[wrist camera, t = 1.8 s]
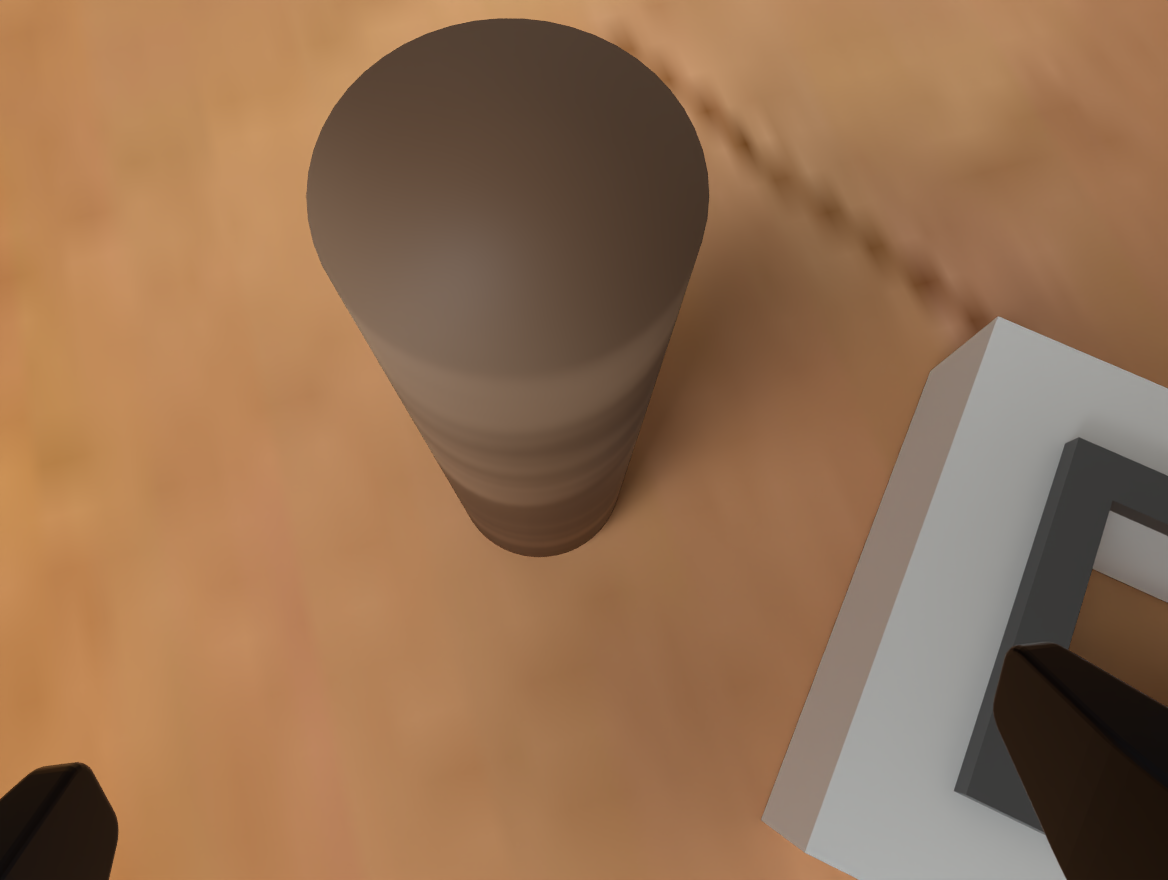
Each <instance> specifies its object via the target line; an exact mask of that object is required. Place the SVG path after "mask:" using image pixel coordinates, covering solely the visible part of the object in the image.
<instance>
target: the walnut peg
mask: <svg viewBox="0 0 1168 880" xmlns="http://www.w3.org/2000/svg"><path fill="white" fill-rule="evenodd" d="M306 197H307V212H308V222H309V226H310V230H311V235H312V239H313V243H314V246H315V249H316V251H317V254H318V256H319V259H320V261H321V264H322V266H323V268H324V270H325V271H326V273H327V275H328V277H329V278H330V280H331V282H332V284H333V285H334V287H335V289H336V291H337V292H338V294H339V296H340V297H341V299H342V301H343V302H344V304H345V306H346V308H347V309H348V311H349V313H350V314H351V316H352V318H353V319H354V321H355V323H356V325H357V326H358V328H359V330H360V331H361V333H362V335H363V336H364V338H365V340H366V341H367V343H368V345H369V347H370V348H371V350H372V352H373V353H374V355H375V357H376V358H377V360H378V362H379V364H380V365H381V367H382V369H383V370H384V372H385V374H386V375H387V377H388V379H389V381H390V382H391V384H392V386H393V387H394V389H395V391H396V392H397V394H398V396H399V398H400V399H401V401H402V403H403V404H404V406H405V408H406V409H407V411H408V413H409V415H410V416H411V418H412V420H413V421H414V423H415V425H416V426H417V428H418V430H419V432H420V433H421V435H422V437H423V438H424V440H425V442H426V443H427V445H428V447H429V449H430V450H431V452H432V454H433V455H434V457H435V459H436V460H437V462H438V464H439V465H440V467H441V469H442V471H443V472H444V474H445V476H446V477H447V479H448V481H449V482H450V484H451V486H452V488H453V489H454V491H455V493H456V494H457V496H458V498H459V499H460V501H461V503H462V505H463V506H464V508H465V510H466V511H467V513H468V515H469V516H470V518H471V520H472V522H473V523H474V524H475V526H476V527H477V528H478V529H479V531H480V532H481V533H482V534H483V535H484V536H485V537H486V538H488V539H489V540H490V541H492V542H493V543H494V544H496V545H498V546H500V547H501V548H503V549H505V550H508V551H510V552H513V553H516V554H520V555H524V556H531V557H548V556H555V555H559V554H562V553H566V552H569V551H571V550H573V549H576V548H577V547H579V546H581V545H583V544H584V543H586V542H587V541H588V540H590V539H591V538H592V537H593V536H595V534H596V533H597V532H598V531H599V530H600V529H601V528H602V527H603V526H604V524H605V523H606V521H607V520H608V518H609V516H610V515H611V513H612V511H613V509H614V506H615V503H616V501H617V498H618V495H619V492H620V489H621V486H622V482H623V479H624V476H625V473H626V470H627V467H628V464H629V461H630V458H631V455H632V452H633V449H634V446H635V443H636V440H637V437H638V434H639V431H640V428H641V425H642V422H643V419H644V416H645V413H646V410H647V407H648V404H649V401H650V398H651V395H652V391H653V388H654V385H655V382H656V379H657V376H658V373H659V370H660V367H661V364H662V361H663V358H664V355H665V352H666V349H667V346H668V343H669V340H670V337H671V334H672V331H673V328H674V325H675V322H676V319H677V316H678V313H679V310H680V307H681V304H682V301H683V297H684V294H685V291H686V288H687V285H688V282H689V279H690V276H691V273H692V270H693V267H694V264H695V261H696V258H697V255H698V252H699V249H700V246H701V243H702V239H703V235H704V231H705V226H706V222H707V216H708V204H709V186H708V172H707V167H706V163H705V158H704V153H703V149H702V147H701V144H700V141H699V139H698V136H697V133H696V131H695V128H694V126H693V124H692V123H691V121H690V119H689V117H688V115H687V113H686V112H685V110H684V108H683V107H682V105H681V104H680V103H679V101H678V100H677V98H676V97H675V96H674V94H673V93H672V92H671V90H670V89H669V88H668V87H667V86H666V85H665V84H664V83H663V82H662V81H661V80H660V79H659V78H658V76H657V75H656V74H655V73H654V72H652V71H651V70H650V69H649V68H647V67H646V66H645V65H644V64H643V63H641V62H640V61H639V60H638V59H636V58H635V57H633V56H632V55H630V54H629V53H627V52H626V51H624V50H622V49H621V48H619V47H618V46H616V45H614V44H612V43H610V42H608V41H606V40H604V39H602V38H600V37H597V36H595V35H593V34H590V33H587V32H584V31H581V30H579V29H576V28H573V27H569V26H565V25H561V24H556V23H552V22H547V21H539V20H530V19H489V20H479V21H472V22H467V23H462V24H458V25H453V26H449V27H446V28H443V29H440V30H437V31H434V32H431V33H428V34H425V35H423V36H421V37H419V38H416V39H414V40H412V41H410V42H408V43H406V44H404V45H402V46H400V47H399V48H397V49H396V50H394V51H392V52H391V53H389V54H387V55H386V56H384V57H383V58H381V59H380V60H379V61H378V62H376V63H375V64H374V65H373V66H371V67H370V68H369V69H368V70H366V71H365V72H364V73H363V74H362V75H361V76H360V77H359V78H358V79H357V80H356V81H355V82H354V83H353V84H352V85H351V86H350V87H349V88H348V89H347V91H346V92H345V93H344V95H343V96H342V97H341V99H340V100H339V101H338V103H337V104H336V105H335V107H334V108H333V110H332V111H331V113H330V115H329V117H328V119H327V120H326V122H325V124H324V126H323V127H322V130H321V132H320V135H319V137H318V140H317V142H316V145H315V148H314V150H313V155H312V159H311V163H310V167H309V172H308V182H307V195H306Z"/></svg>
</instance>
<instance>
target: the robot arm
mask: <svg viewBox="0 0 1168 880" xmlns="http://www.w3.org/2000/svg"><path fill="white" fill-rule="evenodd" d="M993 713H994V719H995V722H996V725H997V728H998V730H999V733H1000V735H1001V737H1002V739H1003V742H1004V744H1005V746H1006V748H1007V750H1008V753H1009V755H1010V757H1011V759H1012V762H1013V764H1014V766H1015V768H1016V771H1017V773H1018V775H1019V777H1020V780H1021V782H1022V784H1023V786H1024V789H1025V791H1026V793H1027V795H1028V798H1029V800H1030V802H1031V804H1032V806H1033V809H1034V811H1035V813H1036V815H1037V818H1038V820H1039V822H1040V824H1041V827H1042V829H1043V831H1044V833H1045V836H1046V838H1047V840H1048V842H1049V845H1050V847H1051V849H1052V851H1053V853H1054V855H1055V857H1056V859H1057V862H1058V864H1059V866H1060V868H1061V870H1062V872H1063V874H1064V876H1065V878H1066V880H1168V707H1166V706H1164V705H1163V704H1161V703H1159V702H1158V701H1156V700H1154V699H1152V698H1151V697H1149V696H1147V695H1145V694H1144V693H1142V692H1140V691H1139V690H1137V689H1135V688H1133V687H1132V686H1130V685H1128V684H1126V683H1125V682H1123V681H1121V680H1119V679H1118V678H1116V677H1114V676H1113V675H1111V674H1109V673H1107V672H1106V671H1104V670H1102V669H1100V668H1099V667H1097V666H1095V665H1094V664H1092V663H1090V662H1088V661H1087V660H1085V659H1083V658H1081V657H1080V656H1078V655H1076V654H1074V653H1073V652H1071V651H1069V650H1068V649H1066V648H1064V647H1062V646H1060V645H1058V644H1056V643H1053V642H1037V643H1029V644H1021V645H1015V646H1012V647H1011V648H1010V649H1009V650H1008V651H1007V653H1006V655H1005V658H1004V662H1003V666H1002V670H1001V674H1000V677H999V681H998V685H997V689H996V693H995V697H994V701H993ZM117 841H118V822H117V817H116V814H115V812H114V810H113V808H112V806H111V805H110V803H109V801H108V799H107V797H106V795H105V794H104V792H103V790H102V788H101V786H100V784H99V782H98V781H97V779H96V777H95V775H94V773H93V771H92V770H91V769H90V767H88V766H87V765H85V764H84V763H79V762H75V763H67V764H59V765H51V766H44V767H41V768H38V769H36V770H34V771H32V772H31V773H30V774H28V775H27V776H26V777H25V778H23V779H22V780H21V781H20V782H19V783H18V784H17V785H15V786H14V787H13V788H12V789H11V790H10V791H9V792H8V793H6V794H5V795H4V796H3V797H2V798H1V799H0V880H109V877H110V873H111V868H112V864H113V859H114V855H115V851H116V846H117Z"/></svg>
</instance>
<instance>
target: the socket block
mask: <svg viewBox="0 0 1168 880" xmlns="http://www.w3.org/2000/svg"><path fill="white" fill-rule="evenodd" d="M1092 569H1094V570H1096V571H1098V572H1100V573H1103V574H1105V575H1107V576H1109V577H1112V578H1114V579H1116V580H1118V581H1120V582H1123V583H1125V584H1127V585H1129V586H1132V587H1134V588H1136V589H1138V590H1140V591H1143V592H1145V593H1147V594H1149V595H1152V596H1154V597H1156V598H1158V599H1161V600H1163V601H1165V602H1167V603H1168V388H1166V387H1163V386H1161V385H1159V384H1156V383H1154V382H1152V381H1149V380H1147V379H1144V378H1142V377H1140V376H1137V375H1135V374H1133V373H1130V372H1128V371H1126V370H1123V369H1121V368H1119V367H1116V366H1114V365H1112V364H1109V363H1107V362H1104V361H1102V360H1100V359H1097V358H1095V357H1093V356H1090V355H1088V354H1086V353H1083V352H1081V351H1079V350H1076V349H1074V348H1072V347H1069V346H1067V345H1065V344H1062V343H1060V342H1057V341H1055V340H1053V339H1050V338H1048V337H1046V336H1043V335H1041V334H1039V333H1036V332H1034V331H1032V330H1029V329H1027V328H1025V327H1022V326H1020V325H1017V324H1015V323H1013V322H1010V321H1008V320H1006V319H1003V318H1001V317H999V316H998V317H996V318H995V319H994V320H993V321H991V322H990V323H989V324H988V325H987V326H985V327H984V328H983V329H982V330H980V331H979V332H978V333H977V334H975V335H974V336H973V337H972V338H971V339H969V340H968V341H967V342H966V343H964V344H963V345H962V346H961V347H959V348H958V349H957V350H956V351H954V352H953V353H952V354H951V355H950V356H948V357H947V358H946V359H945V360H943V361H942V362H941V363H940V364H938V365H937V366H936V367H935V368H933V369H932V370H931V371H930V373H929V376H928V379H927V381H926V384H925V387H924V389H923V392H922V395H921V397H920V400H919V403H918V405H917V408H916V411H915V413H914V416H913V418H912V421H911V424H910V426H909V429H908V432H907V434H906V437H905V440H904V442H903V445H902V448H901V450H900V453H899V456H898V458H897V461H896V463H895V466H894V469H893V471H892V474H891V477H890V479H889V482H888V485H887V487H886V490H885V493H884V495H883V498H882V501H881V503H880V506H879V509H878V511H877V514H876V516H875V519H874V522H873V524H872V527H871V530H870V532H869V535H868V538H867V540H866V543H865V546H864V548H863V551H862V554H861V556H860V559H859V562H858V564H857V567H856V569H855V572H854V575H853V577H852V580H851V583H850V585H849V588H848V591H847V593H846V596H845V599H844V601H843V604H842V607H841V609H840V612H839V614H838V617H837V620H836V622H835V625H834V628H833V630H832V633H831V636H830V638H829V641H828V644H827V646H826V649H825V652H824V654H823V657H822V660H821V662H820V665H819V667H818V670H817V673H816V675H815V678H814V681H813V683H812V686H811V689H810V691H809V694H808V697H807V699H806V702H805V705H804V707H803V710H802V713H801V715H800V718H799V720H798V723H797V726H796V728H795V731H794V734H793V736H792V739H791V742H790V744H789V747H788V750H787V752H786V755H785V758H784V760H783V763H782V765H781V768H780V771H779V773H778V776H777V779H776V781H775V784H774V787H773V789H772V792H771V795H770V797H769V800H768V803H767V805H766V808H765V811H764V813H763V816H762V818H761V820H762V821H763V822H764V823H766V824H767V825H768V826H770V827H771V828H772V829H774V830H775V831H776V832H778V833H779V834H780V835H782V836H783V837H784V838H786V839H787V840H788V841H790V842H791V843H792V844H794V845H795V846H797V847H798V848H799V849H801V850H802V851H803V852H805V853H807V854H809V855H811V856H813V857H815V858H817V859H819V860H821V861H823V862H825V863H827V864H829V865H831V866H833V867H835V868H837V869H839V870H841V871H843V872H845V873H847V874H849V875H851V876H853V877H855V878H857V879H859V880H1066V878H1065V876H1064V874H1063V872H1062V870H1061V868H1060V866H1059V864H1058V862H1057V859H1056V857H1055V855H1054V853H1053V851H1052V849H1051V847H1050V845H1049V842H1048V840H1047V838H1046V836H1045V833H1044V831H1043V829H1042V827H1041V824H1040V822H1039V820H1038V818H1037V815H1036V813H1035V811H1034V809H1033V806H1032V804H1031V802H1030V800H1029V798H1028V795H1027V793H1026V791H1025V789H1024V786H1023V784H1022V782H1021V780H1020V777H1019V775H1018V773H1017V771H1016V768H1015V766H1014V764H1013V762H1012V759H1011V757H1010V755H1009V753H1008V750H1007V748H1006V746H1005V744H1004V742H1003V739H1002V737H1001V735H1000V733H999V730H998V728H997V725H996V722H995V719H994V713H993V701H994V697H995V693H996V689H997V685H998V681H999V677H1000V674H1001V670H1002V666H1003V662H1004V658H1005V655H1006V653H1007V651H1008V650H1009V649H1010V648H1011V647H1012V646H1015V645H1021V644H1029V643H1037V642H1053V643H1056V644H1058V645H1060V646H1062V647H1064V648H1066V649H1069V645H1070V642H1071V639H1072V635H1073V632H1074V629H1075V625H1076V622H1077V619H1078V615H1079V612H1080V609H1081V605H1082V602H1083V598H1084V595H1085V592H1086V588H1087V585H1088V582H1089V578H1090V575H1091V572H1092Z"/></svg>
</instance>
